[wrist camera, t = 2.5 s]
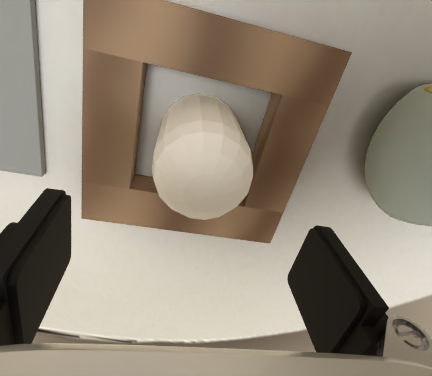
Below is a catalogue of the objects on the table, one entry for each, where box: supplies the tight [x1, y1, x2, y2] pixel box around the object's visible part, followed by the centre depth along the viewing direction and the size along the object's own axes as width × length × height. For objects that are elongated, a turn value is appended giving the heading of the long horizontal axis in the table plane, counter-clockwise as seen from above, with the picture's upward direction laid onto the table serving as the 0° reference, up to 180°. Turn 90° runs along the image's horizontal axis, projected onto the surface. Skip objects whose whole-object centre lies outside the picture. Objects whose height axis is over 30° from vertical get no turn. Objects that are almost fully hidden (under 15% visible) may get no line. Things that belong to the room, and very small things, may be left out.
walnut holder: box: [82, 0, 351, 243], centre depth 19 cm, size 14×14×2 cm
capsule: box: [152, 94, 253, 220], centre depth 16 cm, size 5×5×8 cm
